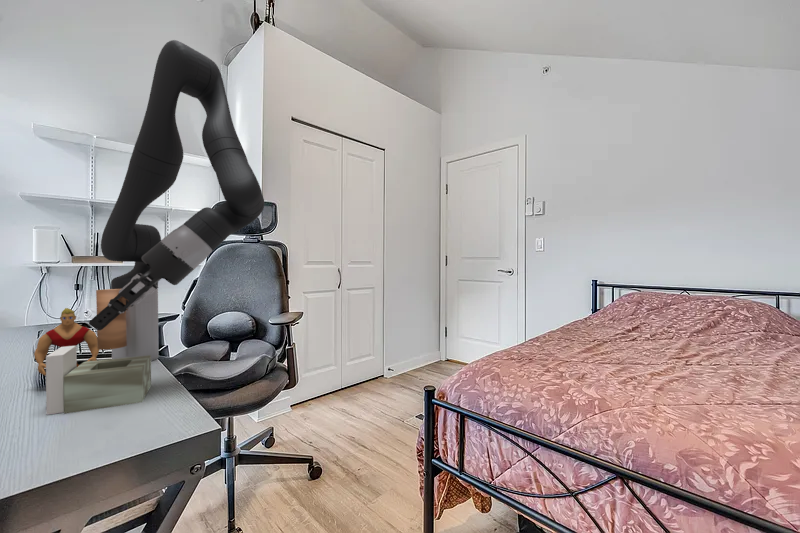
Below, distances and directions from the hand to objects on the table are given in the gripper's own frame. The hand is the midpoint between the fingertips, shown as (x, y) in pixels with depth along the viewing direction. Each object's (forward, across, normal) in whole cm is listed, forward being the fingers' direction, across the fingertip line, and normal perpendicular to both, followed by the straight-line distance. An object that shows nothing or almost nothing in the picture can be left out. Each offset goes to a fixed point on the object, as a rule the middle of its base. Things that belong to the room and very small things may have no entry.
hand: (97, 324), depth 63 cm
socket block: (+8, 0, +11) cm, 13 cm away
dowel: (+1, 0, +4) cm, 5 cm away
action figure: (+14, -13, +4) cm, 20 cm away
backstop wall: (+12, 0, +6) cm, 14 cm away
